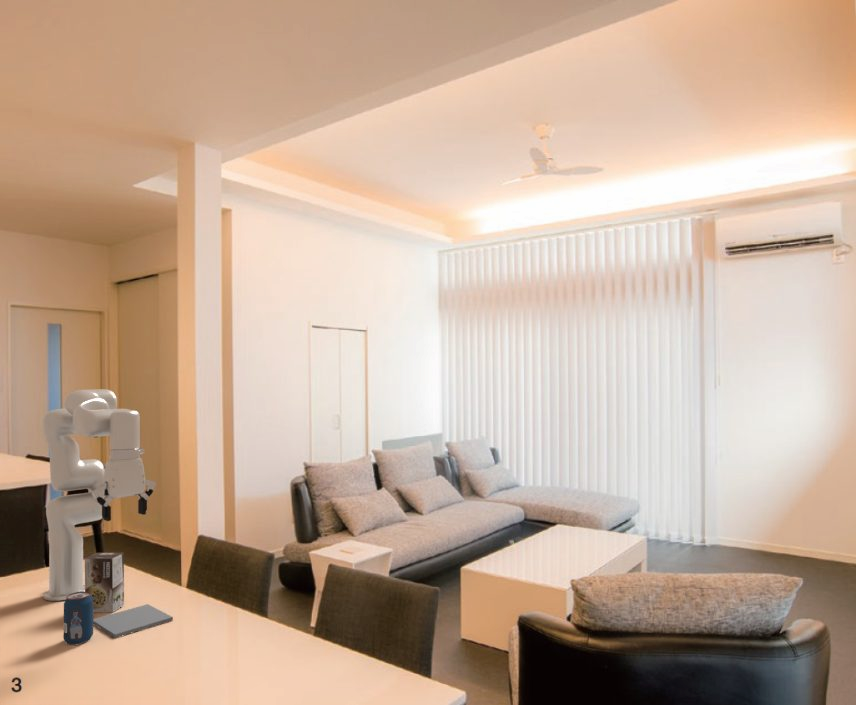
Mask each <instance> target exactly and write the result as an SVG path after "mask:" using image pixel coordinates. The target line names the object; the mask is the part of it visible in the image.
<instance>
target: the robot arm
mask: <svg viewBox="0 0 856 705" xmlns="http://www.w3.org/2000/svg"><path fill="white" fill-rule="evenodd" d="M117 407H118V399H117V396H116V394H115V393H114V392H113V391H112V390H110V389H106V388H104V389H103V388H102V389H101V388H99V389H98V388H97V389H95V388H94V389H92V388H91V389H77V390H74V391H72V392H70V393H69V394H68V395H66V397H65V399H64V408H58V409H52V410H50V411H47V412H46V413H45V414H44V416H43V419H42V432H43V436H44V438H45V440H46V444H47V446H48V450H49V469H50V470H49V472H50V473H49V475H50V485H51V487H52V489H53V490H54V491H56V492H71V491H78V490H85V489H86V490H87V491H88V492H84V493H74V494H67V495H61V496H58V497H55V498H52V499H51V500H50V501H48V502H47V505H46V508H45V515H46V519H47V520H46V521H47V526H48V527H47V528H48V535H49V536H48V537H49V538H48V540H49V542H48V543H49V544H48V545H49V549H48V550H49V555H48V556H49V562H48V563H49V569H48V571H49V575H48V576H49V578H48V579H49V581H48V582H49V583H48V590H47V591H45V592H43V599H44V600H46V601H50V602H51V601H52V602H54V601H55V602H56V601H57V602H58V601H65V600H66V597H67V596H68V595H69V594H72V593H75V592H83V591H85V584H84V537H83V534H82V533H81V531H79V530H78V529H77V528H76V525H79V524H84V523H90V522H95V521H99V520H103V521H106V522H110V521H112V506H111V505H110V504H111V502H112V501H113V500H114V499H118V498H119V499H120V498H127V497H132V496H138V497H139V499H138V503H137V504H138V505H137V508H138V510H137V513H138V515H139V514H140V515H146V514H147V510H148V500H150V496H151V495H152V494H153V493H154V490H155V487H156V485H157V483H156V482H155V481H153V480H150V479H147V478H146V476H145V475H146V474H145V473H146V472H145V468H144V463H143V458H141V455H143V454H144V455H145V449H144V448H142V449H141V446H140V445H141V442H140V441H141V438H140V437H141V436H140V434H141V433H140V431H141V430H140V429H141V428H140V426H141V425H140V422H141V420H140V419H141V416H140V413H139V411H137V410H133V409H132V410H131V409H129V408H117ZM71 435H82V436H84V437H88V438H95V437H96V438H97V437H107V436H109V460H106V463H105V466H104V464H103V462H102V461H101V460H98V459H95V458H92V459H91V458H89V459H81V458H80V457H81V456H80V446H79V443H78V442H77V441H76V439H74V437H73V436H71ZM146 485H147V486H148V487H147V489H146Z"/></svg>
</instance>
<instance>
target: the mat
mask: <svg viewBox="0 0 856 705" xmlns="http://www.w3.org/2000/svg"><path fill="white" fill-rule="evenodd" d="M173 618H174V617H173V616H172V615H170V614H168V613H166V612H165V611H162V610H160V609H158V608H156V607H155V606H152V605H150V604H148V603H146V604H143V605H139V606H136V607H132V608H128V609H125V610H122V611H119V612H113V613H111V614H107V615H104V616H99V617H97V618H93V626H95V627H97V628H98V627H99V630H102V631H103V632H105V633H106V632H107V633H106V634H108V635H109V634H110V635H109V636H111V637H112V636H113V637H112V638H114V637H117V638H120V637H119V636H121V637H123V636H122V635H124V636H126V635H125V634H127V635H129V634H128V633H130V634H132V633H131V632H134V633H136V632H135V631H137V632H140V631H143V630H142V629H144V630H146V629H145V628H147V629H150V628H153V627H156V625H157V626H160V625H162V623H163V624H167V623H170V622H172V620H173ZM169 621H170V622H169ZM173 621H174V620H173ZM159 624H160V625H159ZM152 626H153V627H152ZM149 627H150V628H149ZM139 630H140V631H139Z"/></svg>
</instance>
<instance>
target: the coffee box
mask: <svg viewBox="0 0 856 705" xmlns="http://www.w3.org/2000/svg"><path fill="white" fill-rule="evenodd" d="M124 561H125V553H124V552H95V553H93V554H91V555H89V556H87V557H85V558H84V585H85V591H87V592H90V593H91V596H92V598H93V613H115V612H116V611H118V610H119V609H121V608H123V607H124V606H125V567H124V566H125V562H124ZM123 605H124V606H123ZM122 606H123V607H122ZM120 607H121V608H120ZM117 609H118V610H117Z"/></svg>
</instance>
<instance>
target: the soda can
mask: <svg viewBox="0 0 856 705" xmlns="http://www.w3.org/2000/svg"><path fill="white" fill-rule="evenodd" d="M93 619H94V612H93V598H92V596H91V593H90V592H87V591H83V592H75V593H72V594H69V595H68V596H67V597H66V600H64V602H63V640H64V642H65V644H67V645H68V644H69V645H70V646H77V645H76V644H78V645H82V644H85V643H87V642H89V641H90V640H91V638H92V636H93V634H94V624H93ZM88 640H89V641H88ZM86 641H87V642H86ZM84 642H85V643H84ZM81 643H82V644H81ZM69 645H68V646H69Z"/></svg>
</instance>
